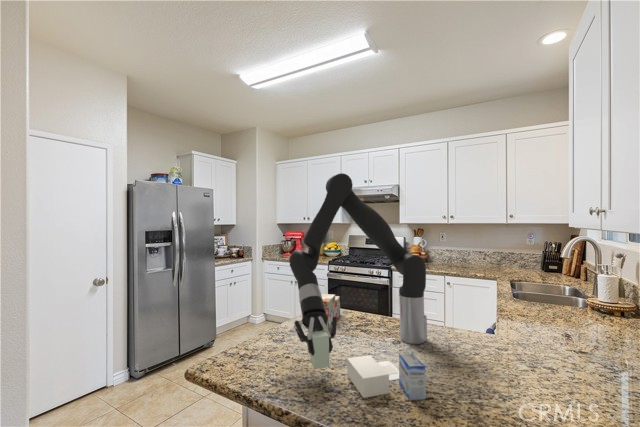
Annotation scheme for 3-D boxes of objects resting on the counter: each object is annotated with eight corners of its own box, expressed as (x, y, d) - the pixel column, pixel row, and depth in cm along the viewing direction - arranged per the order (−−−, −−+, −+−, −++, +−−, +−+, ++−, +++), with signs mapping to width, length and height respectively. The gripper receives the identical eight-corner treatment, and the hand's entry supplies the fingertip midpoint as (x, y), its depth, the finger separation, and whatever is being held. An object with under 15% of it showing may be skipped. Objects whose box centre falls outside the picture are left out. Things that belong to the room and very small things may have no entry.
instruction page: (388, 361, 97) (388, 360, 97) (407, 378, 87) (407, 376, 87) (366, 364, 95) (366, 363, 95) (382, 382, 85) (382, 381, 85)
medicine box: (398, 384, 84) (398, 353, 84) (414, 383, 84) (413, 352, 84) (409, 401, 76) (408, 366, 76) (426, 399, 76) (425, 365, 76)
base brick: (370, 371, 91) (369, 355, 91) (389, 393, 79) (388, 374, 79) (347, 375, 89) (347, 358, 89) (363, 397, 77) (363, 378, 77)
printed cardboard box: (328, 313, 150) (328, 289, 150) (340, 314, 148) (340, 290, 149) (315, 328, 130) (315, 300, 130) (329, 329, 128) (328, 300, 128)
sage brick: (325, 360, 91) (324, 330, 91) (329, 366, 86) (328, 335, 87) (310, 362, 89) (310, 332, 90) (314, 369, 85) (313, 337, 85)
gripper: (291, 296, 94) (299, 351, 82) (333, 293, 98) (347, 344, 85) (288, 308, 99) (295, 361, 87) (329, 305, 102) (341, 355, 90)
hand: (321, 353), depth 86 cm, fingers closed on sage brick, 4 cm apart
